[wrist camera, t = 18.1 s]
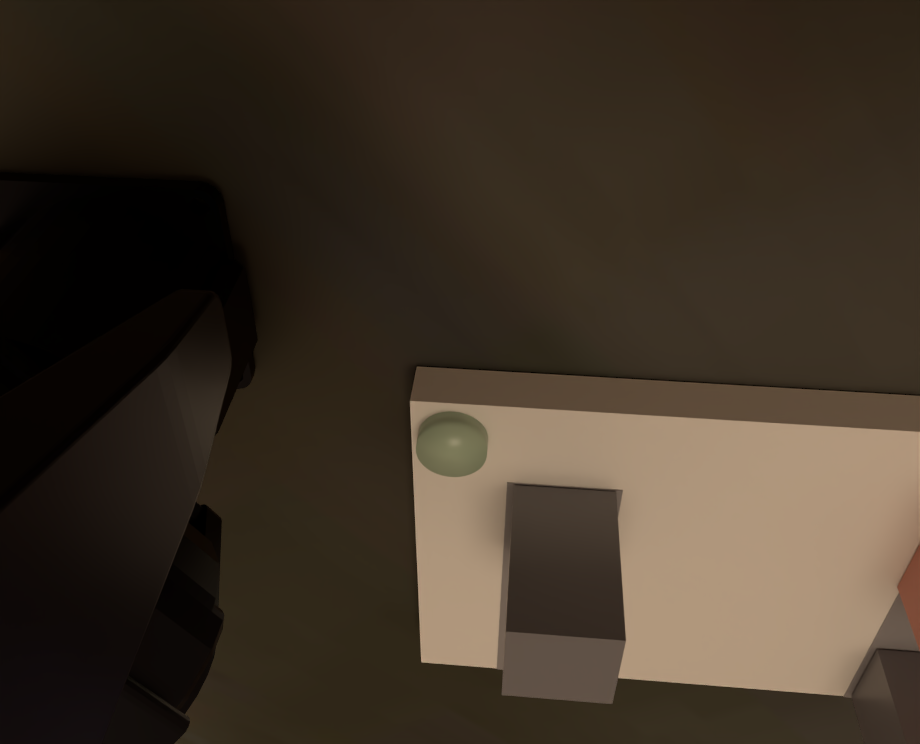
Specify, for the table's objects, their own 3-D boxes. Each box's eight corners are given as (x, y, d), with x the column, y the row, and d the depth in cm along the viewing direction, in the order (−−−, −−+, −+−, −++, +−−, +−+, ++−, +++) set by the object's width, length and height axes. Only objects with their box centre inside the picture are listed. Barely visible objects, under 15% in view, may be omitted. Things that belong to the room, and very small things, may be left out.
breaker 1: (509, 549, 28) (501, 694, 24) (513, 485, 26) (505, 631, 22) (604, 556, 28) (612, 704, 24) (616, 491, 26) (626, 641, 22)
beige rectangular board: (426, 627, 34) (419, 676, 32) (416, 366, 25) (406, 415, 24) (1019, 673, 32) (1043, 727, 31) (1216, 412, 24) (1262, 468, 22)
